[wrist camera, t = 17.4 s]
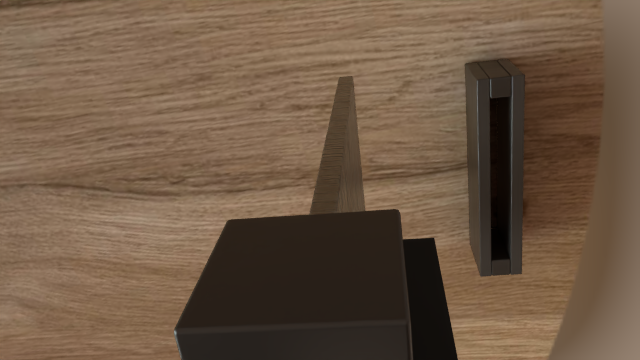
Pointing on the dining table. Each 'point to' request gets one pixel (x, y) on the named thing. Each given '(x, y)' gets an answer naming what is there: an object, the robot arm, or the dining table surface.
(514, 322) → the dining table surface
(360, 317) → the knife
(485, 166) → the knife block
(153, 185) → the dining table surface
